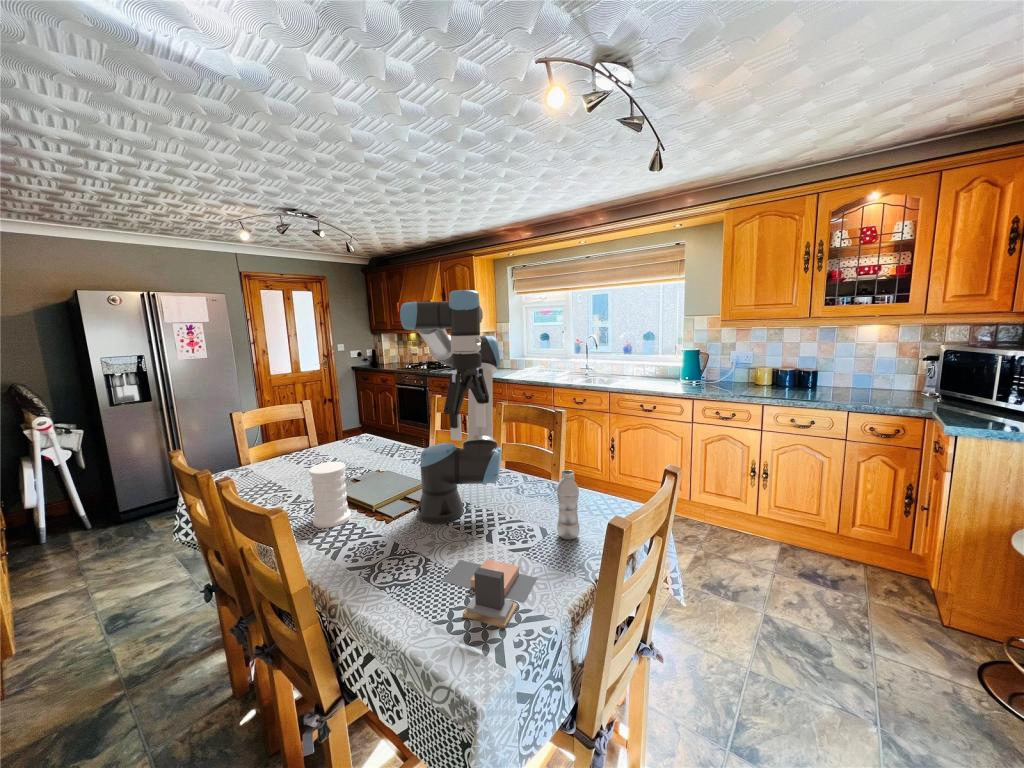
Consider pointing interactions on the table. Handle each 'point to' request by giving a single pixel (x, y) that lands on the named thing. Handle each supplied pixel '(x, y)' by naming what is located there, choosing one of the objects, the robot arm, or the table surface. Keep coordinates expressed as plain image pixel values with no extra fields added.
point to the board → (491, 620)
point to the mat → (467, 569)
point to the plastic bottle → (568, 506)
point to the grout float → (490, 595)
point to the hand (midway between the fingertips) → (469, 433)
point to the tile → (508, 569)
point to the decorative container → (329, 494)
